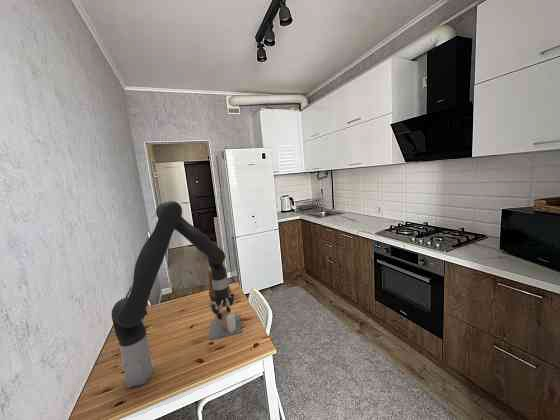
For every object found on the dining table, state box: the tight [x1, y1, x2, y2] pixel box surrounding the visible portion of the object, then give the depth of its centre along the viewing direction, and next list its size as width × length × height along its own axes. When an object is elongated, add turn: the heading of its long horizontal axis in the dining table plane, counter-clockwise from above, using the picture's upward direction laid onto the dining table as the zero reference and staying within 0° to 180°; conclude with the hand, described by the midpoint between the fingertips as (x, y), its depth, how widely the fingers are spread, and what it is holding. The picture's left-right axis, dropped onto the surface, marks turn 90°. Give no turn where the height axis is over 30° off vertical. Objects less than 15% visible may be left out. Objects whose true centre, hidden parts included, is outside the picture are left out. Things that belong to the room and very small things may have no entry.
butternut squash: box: [207, 264, 232, 303], centre depth 144 cm, size 14×13×25 cm
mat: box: [208, 313, 243, 341], centre depth 120 cm, size 16×16×1 cm
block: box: [214, 307, 236, 332], centre depth 119 cm, size 3×8×14 cm
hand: (224, 316), depth 119 cm, fingers open, 4 cm apart
